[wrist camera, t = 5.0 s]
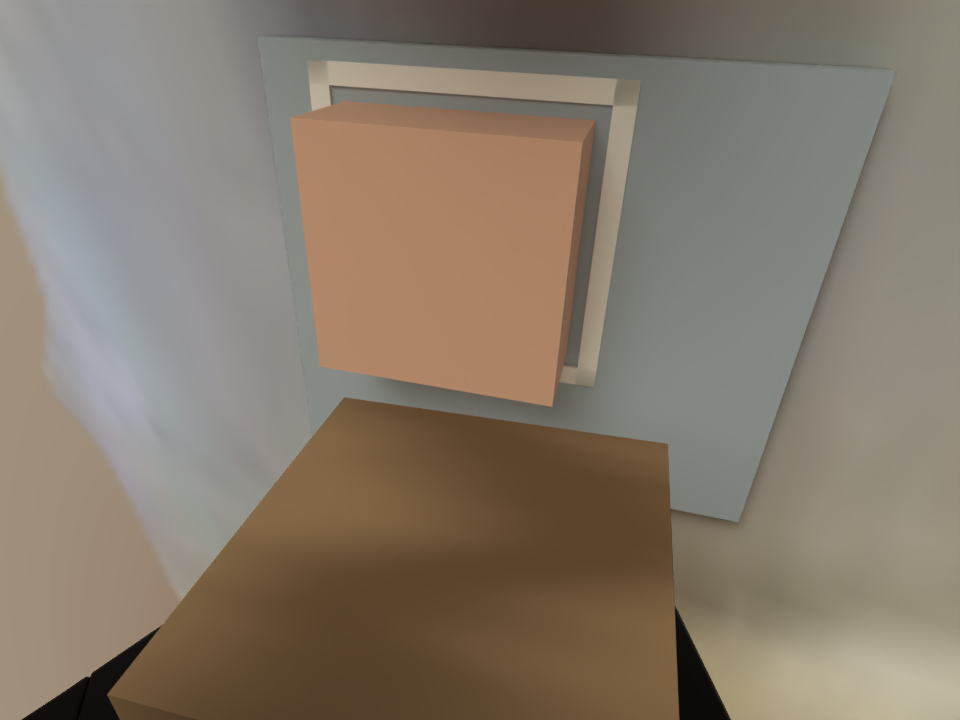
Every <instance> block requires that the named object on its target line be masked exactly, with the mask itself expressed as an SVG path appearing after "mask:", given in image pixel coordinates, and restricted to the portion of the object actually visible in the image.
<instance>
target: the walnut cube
mask: <svg viewBox="0 0 960 720" xmlns="http://www.w3.org/2000/svg"><path fill="white" fill-rule="evenodd" d="M107 696H108V697H109V699H110V701H111V703H112V705H113V707H114V709H115V711H116V713H117V715H118V717H119V719H120V720H679V702H678V677H677V653H676V628H675V604H674V579H673V555H672V530H671V506H670V481H669V457H668V444H666V443H659V442H652V441H645V440H638V439H631V438H624V437H617V436H610V435H603V434H596V433H589V432H582V431H575V430H568V429H561V428H554V427H547V426H540V425H533V424H526V423H520V422H513V421H506V420H499V419H492V418H485V417H478V416H471V415H464V414H457V413H450V412H443V411H436V410H429V409H422V408H415V407H408V406H401V405H394V404H387V403H380V402H373V401H367V400H360V399H353V398H346V397H344V398H343V399H342V400H341V402H340V403H339V404H338V405H337V407H336V408H335V409H334V410H333V412H332V413H331V414H330V415H329V417H328V418H327V419H326V420H325V422H324V423H323V424H322V426H321V427H320V428H319V429H318V431H317V432H316V433H315V434H314V436H313V437H312V438H311V439H310V441H309V442H308V443H307V444H306V446H305V447H304V448H303V449H302V451H301V452H300V453H299V454H298V456H297V457H296V458H295V459H294V461H293V462H292V463H291V464H290V466H289V467H288V468H287V469H286V471H285V472H284V473H283V474H282V476H281V477H280V478H279V479H278V481H277V482H276V483H275V484H274V486H273V487H272V488H271V490H270V491H269V492H268V493H267V495H266V496H265V497H264V498H263V500H262V501H261V502H260V503H259V505H258V506H257V507H256V508H255V510H254V511H253V512H252V513H251V515H250V516H249V517H248V518H247V520H246V521H245V522H244V523H243V525H242V526H241V527H240V528H239V530H238V531H237V532H236V533H235V535H234V536H233V537H232V538H231V540H230V541H229V542H228V543H227V545H226V546H225V547H224V548H223V550H222V551H221V552H220V554H219V555H218V556H217V557H216V559H215V560H214V561H213V562H212V564H211V565H210V566H209V567H208V569H207V570H206V571H205V572H204V574H203V575H202V576H201V577H200V579H199V580H198V581H197V582H196V584H195V585H194V586H193V587H192V589H191V590H190V591H189V592H188V594H187V595H186V596H185V597H184V599H183V600H182V601H181V602H180V604H179V605H178V606H177V607H176V609H175V610H174V611H173V613H172V614H171V615H170V616H169V618H168V619H167V620H166V621H165V623H164V624H163V625H162V626H161V628H160V629H159V630H158V631H157V633H156V634H155V635H154V636H153V638H152V639H151V640H150V641H149V643H148V644H147V645H146V646H145V648H144V649H143V650H142V651H141V653H140V654H139V655H138V656H137V658H136V659H135V660H134V661H133V663H132V664H131V665H130V666H129V668H128V669H127V670H126V671H125V673H124V674H123V675H122V676H121V678H120V679H119V680H118V682H117V683H116V684H115V685H114V687H113V688H112V689H111V690H110V692H109V693H108V694H107Z"/></svg>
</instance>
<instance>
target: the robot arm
mask: <svg viewBox="0 0 960 720" xmlns="http://www.w3.org/2000/svg"><path fill="white" fill-rule="evenodd" d="M160 628H161V626H160V627H159V628H157V629H156V630H154V631H153V632H151V633H150V634H148V635H147V636H145V637H144V638H142V639H141V640H140V641H138V642H137V643H135V644H134V645H132V646H131V647H129V648H128V649H126V650H125V651H123V652H122V653H120V654H119V655H117V656H116V657H115V658H113V659H112V660H110V661H109V662H107V663H106V664H104V665H103V666H101V667H100V668H99V669H97V670H96V671H94V672H93V673H92V674H91V677H85V678H83V679H82V680H80V681H79V682H78V683H76V684H75V685H73V686H72V687H70V688H69V689H67V690H66V691H65V692H63V693H61V694H60V695H58V696H57V697H55V698H54V699H52V700H51V701H49V702H48V703H46V704H45V705H43V706H42V707H40V708H39V709H37V710H36V711H34V712H33V713H31V714H30V715H28V716H26V717H25V718H24V719H22V720H120V719H119V717H118V715H117V713H116V711H115V709H114V707H113V705H112V703H111V701H110V699H109V697H108V696H107V694H108V693H109V692H110V690H111V689H112V688H113V687H114V685H115V684H116V683H117V682H118V680H119V679H120V678H121V676H122V675H123V674H124V673H125V671H126V670H127V669H128V668H129V666H130V665H131V664H132V663H133V661H134V660H135V659H136V658H137V656H138V655H139V654H140V653H141V651H142V650H143V649H144V648H145V646H146V645H147V644H148V643H149V641H150V640H151V639H152V638H153V636H154V635H155V634H156V633H157V631H158V630H159V629H160ZM675 628H676V653H677V677H678V702H679V720H731V719H730V717H729V715H728V713H727V711H726V709H725V707H724V704H723V702H722V700H721V698H720V696H719V694H718V692H717V690H716V688H715V686H714V684H713V682H712V680H711V678H710V676H709V674H708V672H707V670H706V668H705V666H704V663H703V661H702V659H701V657H700V655H699V653H698V651H697V649H696V647H695V645H694V643H693V641H692V639H691V637H690V635H689V633H688V631H687V629H686V627H685V625H684V623H683V620H682V618H681V616H680V614H679V612H678V610H677V608H676V606H675Z"/></svg>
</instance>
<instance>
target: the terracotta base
mask: <svg viewBox="0 0 960 720" xmlns="http://www.w3.org/2000/svg"><path fill="white" fill-rule="evenodd" d="M290 120H291V129H292V137H293V145H294V154H295V162H296V170H297V179H298V187H299V195H300V203H301V212H302V220H303V228H304V237H305V245H306V253H307V262H308V270H309V278H310V287H311V295H312V303H313V312H314V320H315V328H316V336H317V345H318V353H319V361H320V367H325V368H331V369H337V370H342V371H348V372H354V373H360V374H365V375H371V376H377V377H383V378H389V379H394V380H400V381H406V382H412V383H417V384H423V385H429V386H435V387H441V388H446V389H452V390H458V391H464V392H469V393H475V394H481V395H487V396H493V397H498V398H504V399H510V400H516V401H521V402H527V403H533V404H539V405H545V406H550V407H552V406H553V402H554V399H555V395H556V391H557V388H558V384H559V380H560V377H561V373H562V369H563V366H564V362H565V358H566V355H567V347H568V339H569V331H570V322H571V314H572V306H573V298H574V290H575V282H576V274H577V266H578V257H579V249H580V241H581V233H582V225H583V217H584V209H585V201H586V192H587V184H588V176H589V168H590V160H591V152H592V144H593V136H594V128H595V120H584V119H571V118H558V117H545V116H532V115H519V114H506V113H493V112H480V111H467V110H454V109H441V108H428V107H415V106H402V105H389V104H376V103H363V102H350V101H344V102H340V103H337V104H334V105H330V106H327V107H324V108H320V109H317V110H314V111H310V112H307V113H304V114H300V115H297V116H294V117H290Z"/></svg>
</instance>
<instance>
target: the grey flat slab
mask: <svg viewBox="0 0 960 720" xmlns="http://www.w3.org/2000/svg"><path fill="white" fill-rule="evenodd" d="M257 39H258V46H259V53H260V61H261V68H262V75H263V83H264V90H265V97H266V104H267V112H268V119H269V126H270V133H271V141H272V148H273V155H274V162H275V170H276V177H277V184H278V191H279V199H280V206H281V213H282V220H283V228H284V235H285V242H286V250H287V257H288V264H289V271H290V279H291V286H292V293H293V300H294V308H295V315H296V322H297V329H298V337H299V344H300V351H301V358H302V366H303V373H304V380H305V387H306V395H307V402H308V409H309V416H310V424H311V431H312V437H313V436H314V434H315V433H316V432H317V431H318V429H319V428H320V427H321V426H322V424H323V423H324V422H325V420H326V419H327V418H328V417H329V415H330V414H331V413H332V412H333V410H334V409H335V408H336V407H337V405H338V404H339V403H340V402H341V400H342V399H343V398H344V397H346V398H353V399H360V400H367V401H373V402H380V403H387V404H394V405H401V406H408V407H415V408H422V409H429V410H436V411H443V412H450V413H457V414H464V415H471V416H478V417H485V418H492V419H499V420H506V421H513V422H520V423H526V424H533V425H540V426H547V427H554V428H561V429H568V430H575V431H582V432H589V433H596V434H603V435H610V436H617V437H624V438H631V439H638V440H645V441H652V442H659V443H666V444H668V457H669V481H670V506H671V509H674V510H679V511H684V512H689V513H694V514H699V515H704V516H709V517H714V518H719V519H724V520H729V521H734V522H739V520H740V517H741V514H742V511H743V508H744V505H745V502H746V500H747V497H748V494H749V491H750V488H751V485H752V482H753V480H754V477H755V474H756V471H757V468H758V465H759V462H760V459H761V457H762V454H763V451H764V448H765V445H766V442H767V439H768V437H769V434H770V431H771V428H772V425H773V422H774V419H775V417H776V414H777V411H778V408H779V405H780V402H781V399H782V397H783V394H784V391H785V388H786V385H787V382H788V379H789V377H790V374H791V371H792V368H793V365H794V362H795V359H796V357H797V354H798V351H799V348H800V345H801V342H802V339H803V337H804V334H805V331H806V328H807V325H808V322H809V319H810V317H811V314H812V311H813V308H814V305H815V302H816V299H817V297H818V294H819V291H820V288H821V285H822V282H823V279H824V277H825V274H826V271H827V268H828V265H829V262H830V259H831V256H832V254H833V251H834V248H835V245H836V242H837V239H838V236H839V234H840V231H841V228H842V225H843V222H844V219H845V216H846V214H847V211H848V208H849V205H850V202H851V199H852V196H853V194H854V191H855V188H856V185H857V182H858V179H859V176H860V174H861V171H862V168H863V165H864V162H865V159H866V156H867V154H868V151H869V148H870V145H871V142H872V139H873V136H874V134H875V131H876V128H877V125H878V122H879V119H880V116H881V114H882V111H883V108H884V105H885V102H886V99H887V96H888V94H889V91H890V88H891V85H892V82H893V79H894V76H895V74H896V71H892V70H889V69H885V68H866V67H848V66H830V65H811V64H793V63H775V62H756V61H738V60H720V59H701V58H683V57H664V56H646V55H628V54H609V53H591V52H573V51H554V50H536V49H518V48H499V47H481V46H463V45H444V44H426V43H408V42H389V41H371V40H353V39H334V38H316V37H298V36H279V35H268V36H257ZM344 101H350V102H363V103H376V104H389V105H402V106H415V107H428V108H441V109H454V110H467V111H480V112H493V113H506V114H519V115H532V116H545V117H558V118H571V119H584V120H595V128H594V136H593V144H592V152H591V160H590V168H589V176H588V184H587V192H586V201H585V209H584V217H583V225H582V233H581V241H580V249H579V257H578V266H577V274H576V282H575V290H574V298H573V306H572V314H571V322H570V331H569V339H568V347H567V355H566V358H565V362H564V366H563V369H562V373H561V377H560V380H559V384H558V388H557V391H556V395H555V399H554V402H553V406H552V407H550V406H545V405H539V404H533V403H527V402H521V401H516V400H510V399H504V398H498V397H493V396H487V395H481V394H475V393H469V392H464V391H458V390H452V389H446V388H441V387H435V386H429V385H423V384H417V383H412V382H406V381H400V380H394V379H389V378H383V377H377V376H371V375H365V374H360V373H354V372H348V371H342V370H337V369H331V368H325V367H320V361H319V353H318V345H317V336H316V328H315V320H314V312H313V303H312V295H311V287H310V278H309V270H308V262H307V253H306V245H305V237H304V228H303V220H302V212H301V203H300V195H299V187H298V179H297V170H296V162H295V154H294V145H293V137H292V129H291V120H290V117H294V116H297V115H300V114H304V113H307V112H310V111H314V110H317V109H320V108H324V107H327V106H330V105H334V104H337V103H340V102H344Z"/></svg>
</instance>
